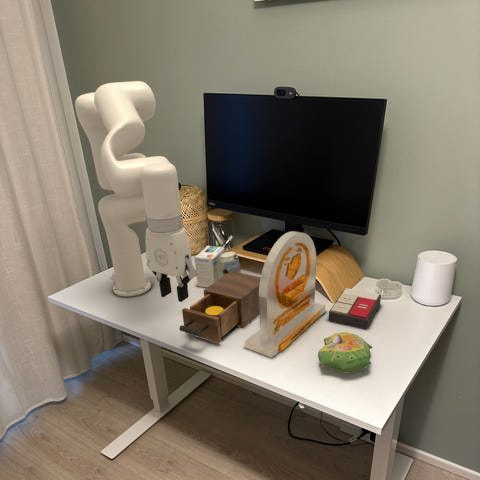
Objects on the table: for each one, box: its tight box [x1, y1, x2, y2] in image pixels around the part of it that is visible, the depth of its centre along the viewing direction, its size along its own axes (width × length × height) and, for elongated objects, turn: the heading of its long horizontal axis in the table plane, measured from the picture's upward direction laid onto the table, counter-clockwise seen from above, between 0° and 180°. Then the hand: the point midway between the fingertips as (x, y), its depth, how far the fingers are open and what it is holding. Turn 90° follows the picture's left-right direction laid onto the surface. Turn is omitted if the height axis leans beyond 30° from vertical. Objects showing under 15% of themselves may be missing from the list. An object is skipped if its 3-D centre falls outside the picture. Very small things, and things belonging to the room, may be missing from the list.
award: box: [244, 230, 326, 359], centre depth 119 cm, size 28×9×28 cm, turn 143°
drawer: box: [179, 294, 240, 344], centre depth 124 cm, size 18×11×7 cm, turn 148°
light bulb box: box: [194, 245, 226, 288], centre depth 152 cm, size 11×7×11 cm, turn 160°
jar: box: [205, 306, 224, 317], centre depth 126 cm, size 5×5×4 cm
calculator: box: [328, 287, 382, 330], centre depth 131 cm, size 11×4×15 cm
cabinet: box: [203, 271, 261, 328], centre depth 134 cm, size 15×13×9 cm
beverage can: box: [220, 251, 242, 276], centre depth 147 cm, size 6×7×12 cm
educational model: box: [317, 331, 373, 374], centre depth 111 cm, size 13×16×5 cm
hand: (174, 296), depth 108 cm, fingers open, 4 cm apart
